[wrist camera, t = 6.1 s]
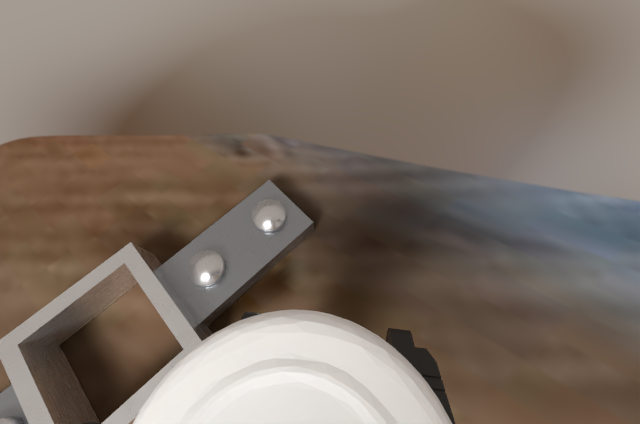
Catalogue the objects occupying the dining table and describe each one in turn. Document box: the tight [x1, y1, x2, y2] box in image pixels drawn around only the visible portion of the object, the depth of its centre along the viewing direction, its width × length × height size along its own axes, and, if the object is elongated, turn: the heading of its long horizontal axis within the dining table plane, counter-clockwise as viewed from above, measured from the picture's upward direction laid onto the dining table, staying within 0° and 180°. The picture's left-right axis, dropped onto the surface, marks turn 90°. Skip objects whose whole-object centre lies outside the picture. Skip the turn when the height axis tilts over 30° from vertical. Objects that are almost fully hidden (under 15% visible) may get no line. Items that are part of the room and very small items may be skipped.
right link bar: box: [158, 180, 314, 326], centre depth 22 cm, size 10×5×2 cm, turn 134°
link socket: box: [0, 242, 213, 424], centre depth 19 cm, size 9×9×3 cm
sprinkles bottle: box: [133, 310, 452, 424], centre depth 9 cm, size 5×5×13 cm
